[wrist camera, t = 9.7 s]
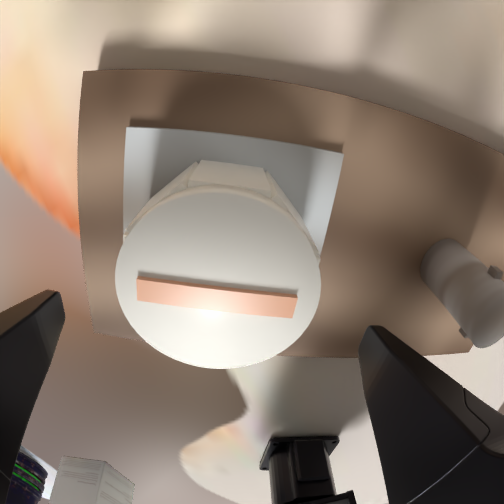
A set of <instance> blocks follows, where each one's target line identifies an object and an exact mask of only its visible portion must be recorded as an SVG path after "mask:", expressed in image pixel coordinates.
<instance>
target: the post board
mask: <svg viewBox="0 0 504 504" xmlns="http://www.w3.org/2000/svg"><path fill="white" fill-rule="evenodd" d="M201 160H208V161H217V162H225V163H233V164H240V165H248V166H255V167H261V168H263V169H264V172H266V171H268V172H269V173H270V174H271V176H272V177H273V178H274V180H275V181H276V182H277V184H278V185H279V187H280V188H281V189H282V191H283V192H284V193H285V195H286V196H287V198H288V199H289V200H290V202H291V203H292V205H293V206H294V207H295V209H296V210H297V212H298V213H299V214H300V216H301V217H302V219H303V221H304V223H305V225H306V227H307V229H308V231H309V233H310V235H311V237H312V239H313V241H314V243H315V245H316V247H317V249H318V251H319V253H320V254H318V255H319V257H320V263H319V270H320V277H321V292H320V299H319V303H318V307H317V309H316V312H315V314H314V317H313V319H312V320H311V322H310V324H309V326H308V327H307V328H306V330H305V331H304V332H303V334H302V335H301V336H300V337H299V338H298V339H297V340H296V341H295V342H294V343H293V344H292V345H290V346H289V347H288V348H286V349H285V350H284V351H282V352H280V353H279V354H277V355H279V356H300V357H339V358H359V356H358V347H359V344H360V342H361V340H362V337H363V335H364V333H365V331H366V328H367V327H368V326H370V325H381V326H383V327H384V328H386V329H387V330H388V331H390V332H391V333H392V334H394V335H395V336H396V337H398V338H399V339H400V340H402V341H403V342H404V343H406V344H407V345H408V346H410V347H411V348H412V349H414V350H415V351H416V352H418V353H419V354H420V355H422V356H427V355H442V354H455V353H466V352H469V351H470V349H471V347H472V346H473V344H474V345H475V346H476V347H478V348H485V347H488V346H491V345H492V344H494V343H496V342H497V341H498V340H500V339H501V338H502V337H503V336H504V154H502V153H500V152H498V151H496V150H494V149H492V148H490V147H488V146H486V145H484V144H481V143H479V142H477V141H475V140H473V139H470V138H468V137H466V136H464V135H461V134H459V133H457V132H454V131H452V130H449V129H447V128H444V127H442V126H439V125H437V124H434V123H432V122H429V121H426V120H424V119H421V118H418V117H415V116H412V115H409V114H407V113H404V112H401V111H398V110H394V109H391V108H388V107H385V106H382V105H378V104H375V103H372V102H368V101H365V100H361V99H357V98H354V97H350V96H346V95H342V94H338V93H334V92H330V91H325V90H321V89H317V88H312V87H307V86H302V85H297V84H292V83H286V82H281V81H275V80H269V79H262V78H255V77H248V76H240V75H232V74H223V73H212V72H200V71H185V70H161V69H120V70H96V71H83V79H82V88H81V99H80V111H79V128H78V206H79V224H80V237H81V248H82V258H83V267H84V274H85V282H86V290H87V296H88V303H89V309H90V315H91V320H92V326H93V331H94V333H99V334H104V335H110V336H115V337H121V338H127V339H132V340H139V341H145V340H144V339H143V338H142V337H141V336H140V335H139V334H138V333H137V332H136V331H135V330H134V328H133V327H132V326H131V325H130V323H129V321H128V320H127V318H126V317H125V315H124V313H123V310H122V308H121V306H120V303H119V300H118V297H117V292H116V286H115V269H116V263H117V258H118V255H119V252H120V249H121V247H122V245H123V234H124V233H125V232H126V230H125V229H126V228H127V227H128V226H129V224H130V223H131V222H132V221H133V219H134V218H135V217H136V216H137V215H138V213H139V212H140V211H141V210H142V208H143V207H144V206H145V205H146V204H147V202H148V201H149V200H150V199H151V198H152V197H153V196H154V195H155V194H156V193H158V192H159V191H160V190H161V189H162V188H164V187H165V186H166V185H167V184H168V183H170V182H171V181H172V180H173V179H175V178H176V177H177V176H178V175H179V174H181V173H182V172H183V171H184V170H186V169H187V168H188V167H189V166H191V165H192V164H193V163H194V162H196V161H197V163H198V164H199V163H200V161H201ZM145 342H146V341H145Z"/></svg>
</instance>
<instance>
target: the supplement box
mask: <svg viewBox="0 0 504 504" xmlns="http://www.w3.org/2000/svg"><path fill="white" fill-rule="evenodd" d="M134 486H135V484H134V483H132V482H131V481H129V480H128V479H127V478H125V477H124V476H123V475H122V474H120V473H119V472H118V471H117V470H115V469H114V468H113V467H112V466H111V465H109V464H108V463H107V462H105V461H99V460H91V459H83V458H76V457H68V456H63V457H62V459H61V462H60V465H59V469H58V472H57V475H56V479H55V482H54V486H53V489H52V493H51V496H50V500H49V504H132V499H133V492H134Z"/></svg>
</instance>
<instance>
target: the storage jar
mask: <svg viewBox="0 0 504 504" xmlns="http://www.w3.org/2000/svg"><path fill="white" fill-rule="evenodd" d="M47 475H48V473H47V472H46V470H45V469H44V468H43V467H41V466H40V465H39V464H38V463H36V462H35V461H33V460H32V459H31V458H29V457H27V456H26V455H24V454H22V453H21V452H18V456H17V459H16V463H15V466H14V470H13V473H12V477H11V480H10V481H11V482H10V486H9V490H8V494H7V499H6V503H5V504H37V503H38V502H39V501H40V499H41V498H42V497H41V496H42V494H41V493H43V491H44V484H45V479H46V478H47Z"/></svg>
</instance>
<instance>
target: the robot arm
mask: <svg viewBox="0 0 504 504" xmlns="http://www.w3.org/2000/svg"><path fill="white" fill-rule="evenodd" d="M64 321H65V312H64V308H63V303H62V299H61V295H60V293H59V292H58V291H54V290H45V291H43V292H41V293H39V294H37V295H35V296H33V297H31V298H29V299H27V300H25V301H23V302H21V303H19V304H17V305H15V306H13V307H11V308H9V309H7V310H5V311H3V312H1V313H0V504H5V503H6V499H7V494H8V490H9V486H10V482H11V481H10V480H11V477H12V473H13V470H14V466H15V463H16V459H17V456H18V452H19V449H20V446H21V442H22V439H23V436H24V433H25V430H26V427H27V424H28V421H29V418H30V416H31V412H32V410H33V407H34V404H35V402H36V399H37V397H38V394H39V391H40V389H41V386H42V384H43V381H44V379H45V376H46V374H47V372H48V369H49V367H50V364H51V361H52V358H53V355H54V352H55V349H56V346H57V342H58V340H59V336H60V333H61V331H62V328H63V325H64ZM358 356H359V362H360V368H361V375H362V381H363V388H364V394H365V399H366V403H367V407H368V411H369V415H370V419H371V423H372V427H373V431H374V435H375V439H376V444H377V448H378V452H379V457H380V461H381V466H382V471H383V475H384V480H385V485H386V490H387V495H388V500H389V504H504V415H502V414H501V413H499V412H498V411H496V410H495V409H493V408H492V407H490V406H489V405H487V404H486V403H484V402H483V401H482V400H480V399H479V398H477V397H476V396H475V395H473V394H472V393H471V392H469V391H468V390H467V389H466V388H463V386H462V385H460V384H459V383H458V382H456V381H455V380H454V379H452V378H451V377H450V376H448V375H447V374H446V373H444V372H443V371H442V370H440V369H439V368H438V367H436V366H435V365H434V364H432V363H431V362H430V361H428V360H427V359H426V358H424V357H423V356H422V355H420V354H419V353H418V352H416V351H415V350H414V349H412V348H411V347H410V346H408V345H407V344H406V343H404V342H403V341H402V340H400V339H399V338H398V337H396V336H395V335H394V334H392V333H391V332H390V331H388V330H387V329H386V328H384V327H383V326H381V325H370V326H368V327H367V328H366V331H365V333H364V335H363V337H362V340H361V342H360V344H359V347H358ZM339 441H340V440H339V437H338V436H330V437H310V438H273V439H271V440H270V441H269V444H268V446H267V449H266V451H265V453H264V456H263V458H262V461H261V463H260V470H269V475H270V487H271V498H272V504H356V500H355V496H354V493H353V490H351V491H347V492H346V493H342V494H338V495H337V494H336V489H335V484H334V479H333V474H332V469H331V465H330V460H329V456H330V454H331V453H332V451H333V450H334V449H335V447H336V446H337V445H338V443H339Z"/></svg>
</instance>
